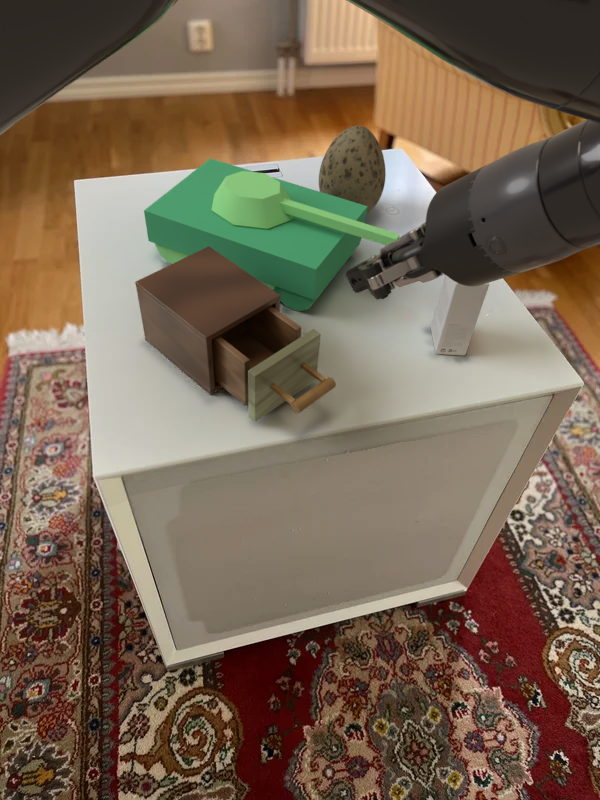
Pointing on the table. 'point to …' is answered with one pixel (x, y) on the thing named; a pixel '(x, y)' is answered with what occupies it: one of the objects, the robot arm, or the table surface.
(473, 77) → the robot arm
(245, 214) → the toy tank
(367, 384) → the table surface
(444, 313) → the cosmetic box
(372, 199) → the decorative egg
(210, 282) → the cabinet
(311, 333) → the drawer
